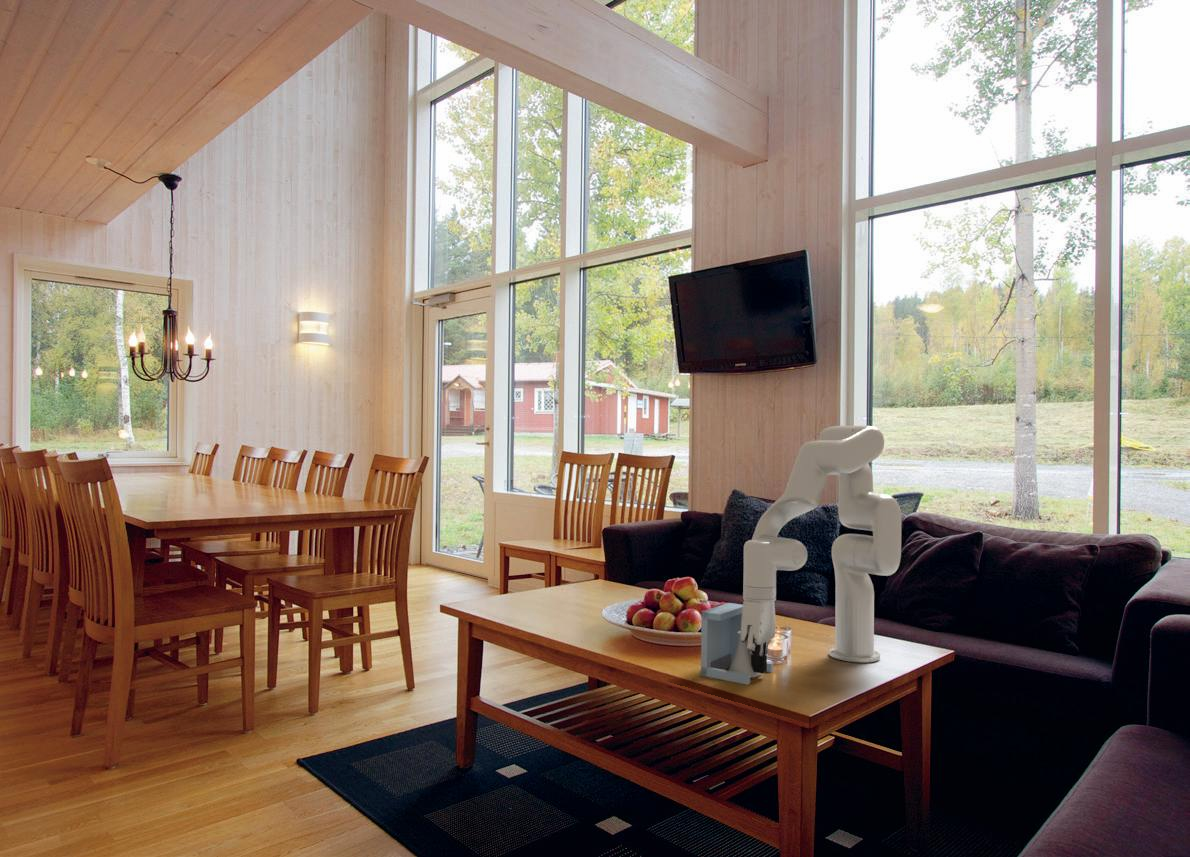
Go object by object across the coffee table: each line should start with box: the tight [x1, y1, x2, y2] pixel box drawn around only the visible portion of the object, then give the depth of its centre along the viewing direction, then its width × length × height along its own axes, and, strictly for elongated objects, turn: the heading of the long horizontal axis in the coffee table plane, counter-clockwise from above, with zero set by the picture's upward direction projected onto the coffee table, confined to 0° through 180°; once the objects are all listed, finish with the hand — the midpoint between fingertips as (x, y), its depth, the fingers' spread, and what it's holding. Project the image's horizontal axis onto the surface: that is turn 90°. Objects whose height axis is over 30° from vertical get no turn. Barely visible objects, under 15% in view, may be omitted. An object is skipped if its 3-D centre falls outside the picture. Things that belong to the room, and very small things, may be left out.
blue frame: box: [700, 602, 774, 686], centre depth 194 cm, size 14×12×15 cm
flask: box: [728, 631, 762, 679], centre depth 193 cm, size 7×7×10 cm
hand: (758, 671), depth 190 cm, fingers closed
